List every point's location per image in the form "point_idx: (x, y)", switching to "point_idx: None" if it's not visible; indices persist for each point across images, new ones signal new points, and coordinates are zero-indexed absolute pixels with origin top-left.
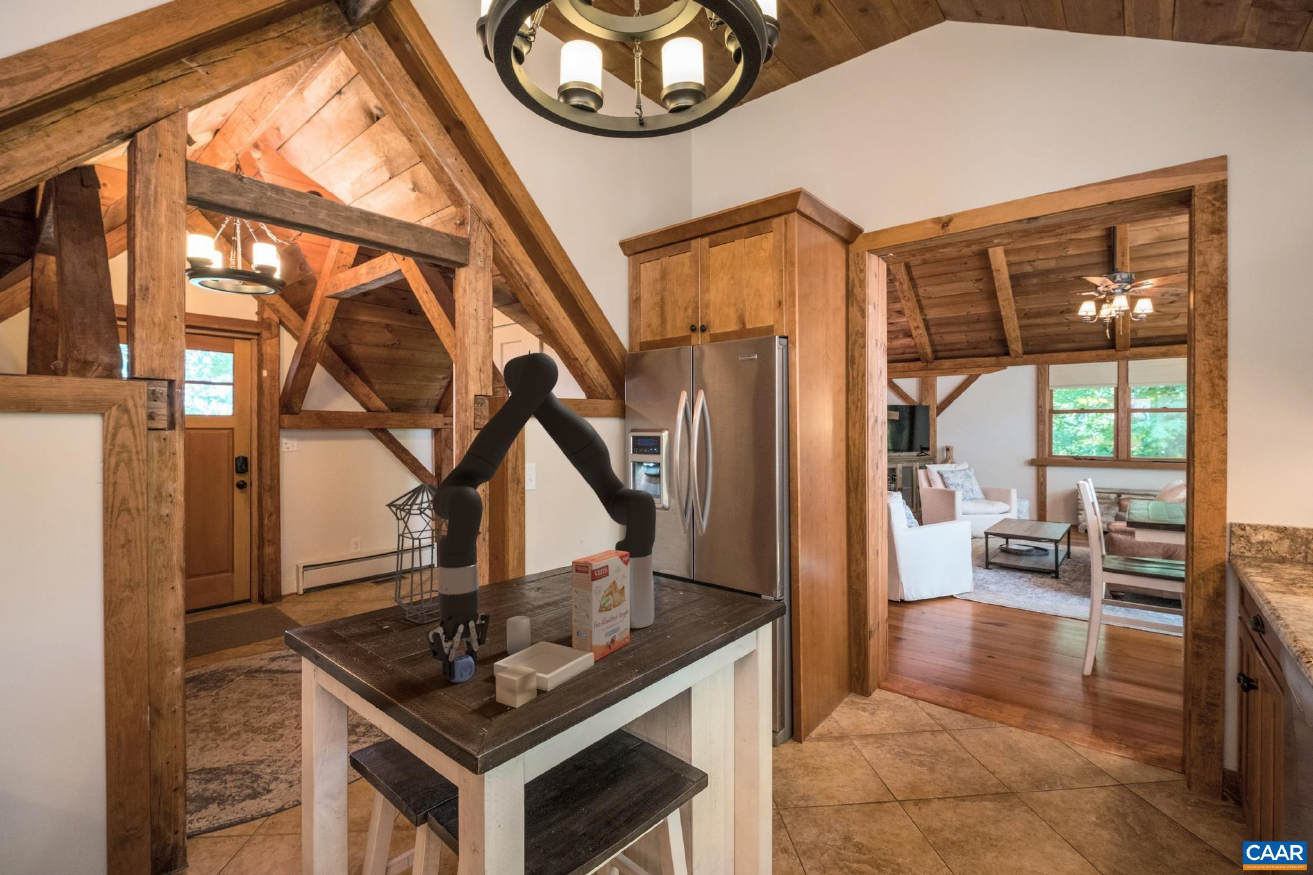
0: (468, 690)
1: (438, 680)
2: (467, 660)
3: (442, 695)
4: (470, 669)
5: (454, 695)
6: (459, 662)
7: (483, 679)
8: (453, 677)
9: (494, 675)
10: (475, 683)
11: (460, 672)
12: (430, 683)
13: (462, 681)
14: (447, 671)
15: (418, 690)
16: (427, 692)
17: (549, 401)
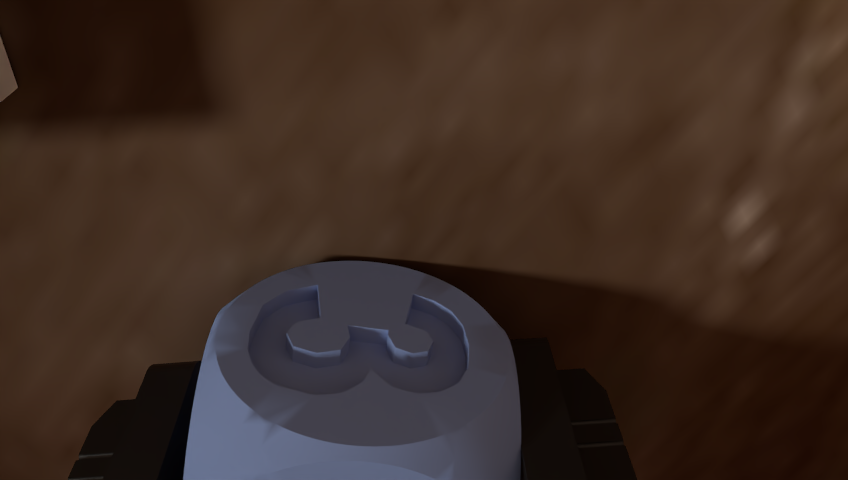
0: (537, 2)
1: None
2: (315, 445)
3: (793, 162)
4: (273, 339)
5: (739, 35)
6: (452, 471)
7: (187, 120)
8: (523, 346)
9: (10, 78)
10: (334, 107)
11: (432, 355)
12: None
13: (410, 269)
14: (619, 435)
15: (781, 439)
16: (788, 346)
17: None
